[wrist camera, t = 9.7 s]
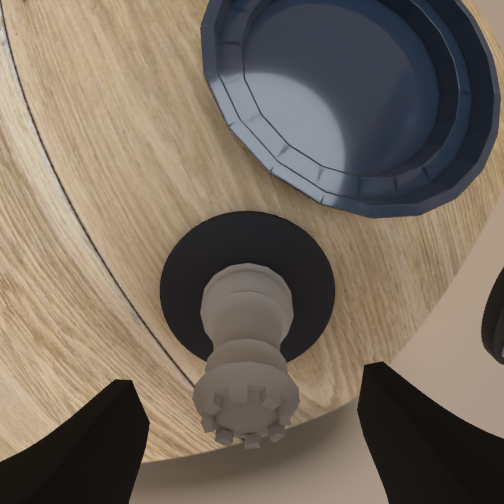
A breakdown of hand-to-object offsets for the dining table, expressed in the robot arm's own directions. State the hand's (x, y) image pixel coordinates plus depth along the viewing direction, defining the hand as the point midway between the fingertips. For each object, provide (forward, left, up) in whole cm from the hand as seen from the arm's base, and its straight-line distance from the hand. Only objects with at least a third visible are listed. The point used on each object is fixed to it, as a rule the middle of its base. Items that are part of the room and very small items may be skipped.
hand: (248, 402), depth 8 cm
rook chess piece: (0, 0, -7) cm, 7 cm away
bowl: (-6, -11, -7) cm, 15 cm away
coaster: (0, 0, -7) cm, 7 cm away
